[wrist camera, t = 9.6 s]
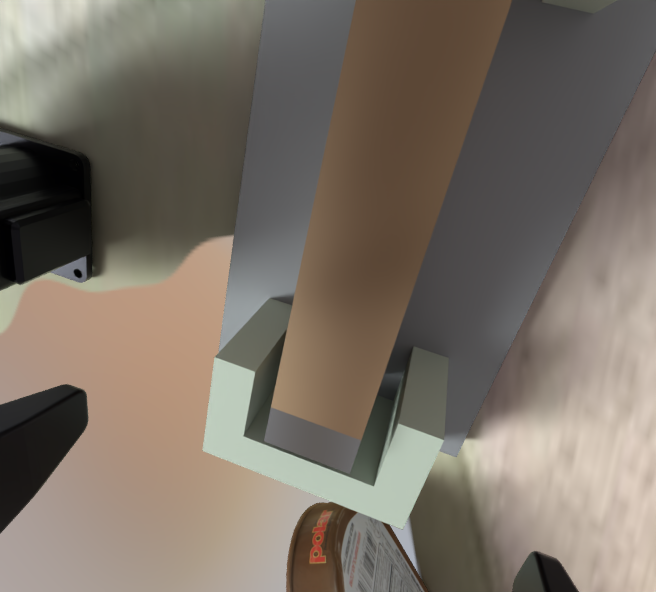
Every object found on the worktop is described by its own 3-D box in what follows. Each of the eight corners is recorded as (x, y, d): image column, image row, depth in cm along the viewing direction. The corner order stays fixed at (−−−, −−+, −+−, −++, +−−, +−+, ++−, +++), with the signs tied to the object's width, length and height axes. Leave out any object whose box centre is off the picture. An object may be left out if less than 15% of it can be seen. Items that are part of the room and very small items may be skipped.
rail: (315, 350, 20) (263, 441, 15) (427, -102, 13) (403, -228, 8) (379, 372, 20) (349, 474, 15) (532, -82, 13) (580, -200, 7)
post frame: (227, 356, 24) (155, 438, 18) (314, -245, 13) (213, -469, 8) (456, 439, 22) (454, 556, 16) (751, -176, 12) (997, -401, 6)
